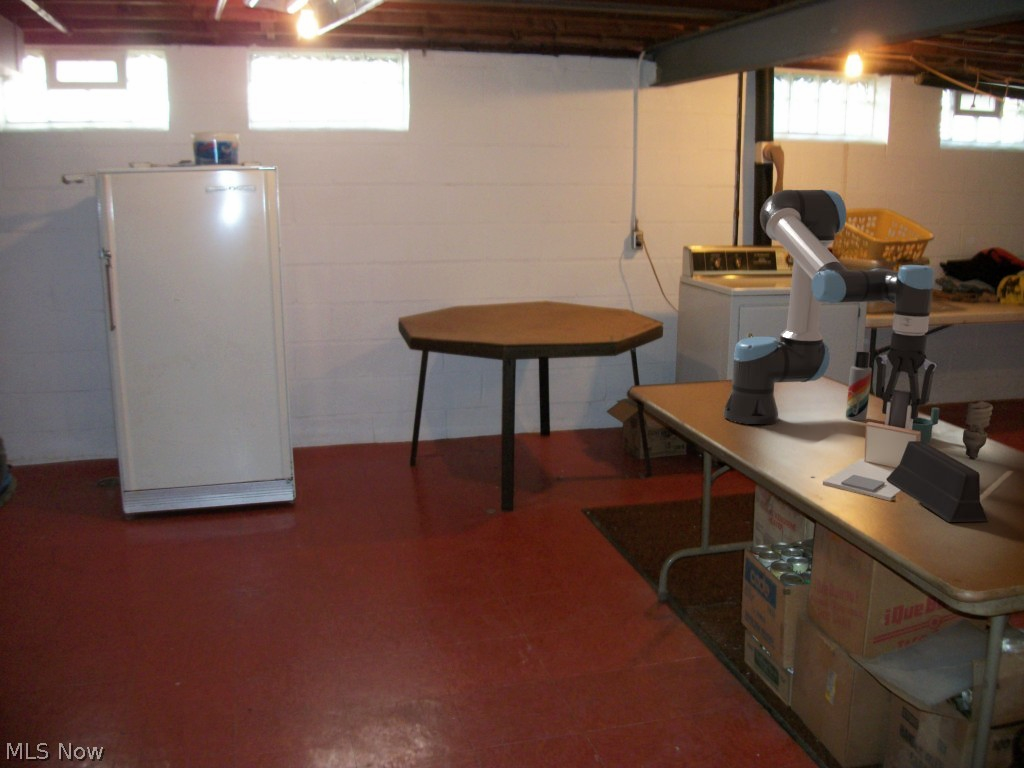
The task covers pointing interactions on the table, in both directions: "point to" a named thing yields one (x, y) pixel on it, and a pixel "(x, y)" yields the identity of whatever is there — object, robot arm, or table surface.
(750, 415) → the robot arm
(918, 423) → the bracket
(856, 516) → the table surface
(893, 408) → the tool handle
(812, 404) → the table surface
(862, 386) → the lotion bottle
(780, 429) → the table surface
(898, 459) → the tile
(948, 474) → the barrier
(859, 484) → the board
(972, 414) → the light bulb
